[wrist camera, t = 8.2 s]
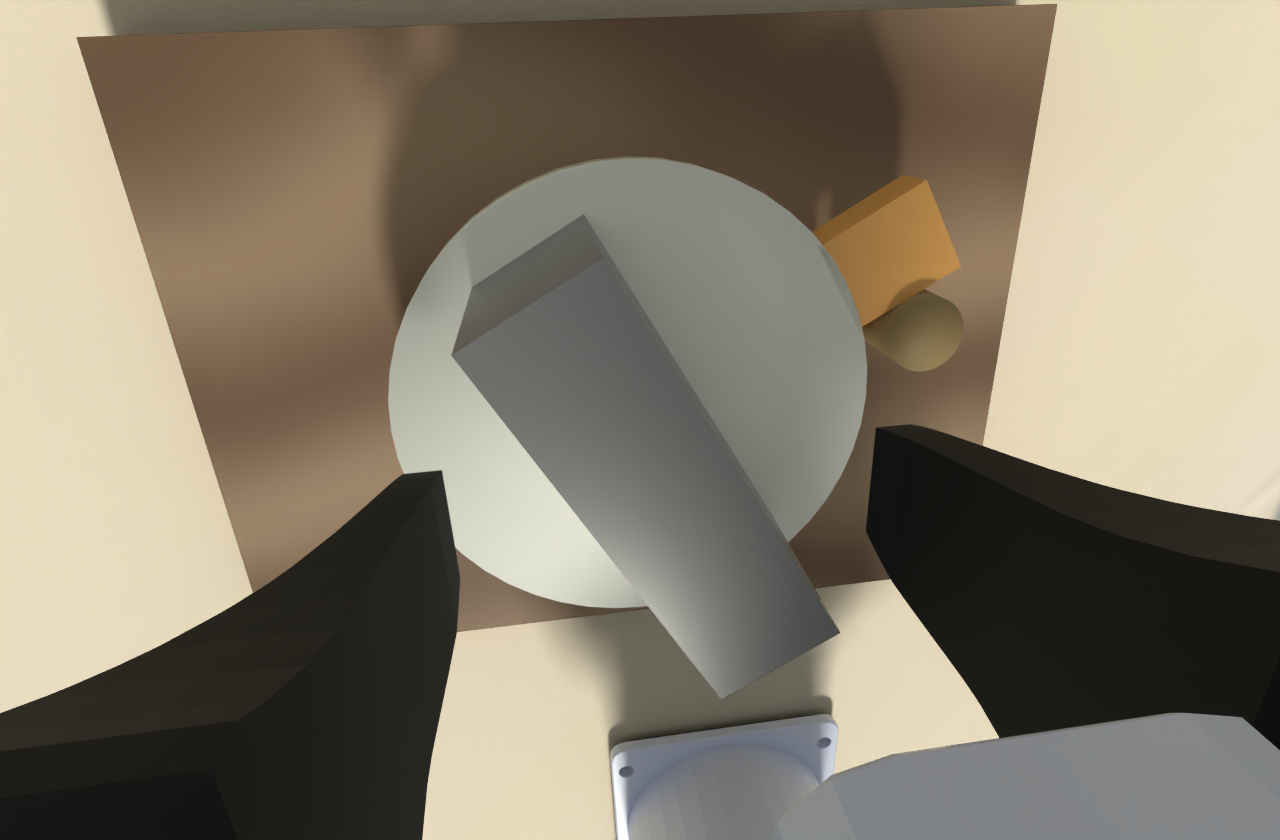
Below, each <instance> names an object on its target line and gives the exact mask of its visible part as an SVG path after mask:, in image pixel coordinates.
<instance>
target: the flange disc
mask: <svg viewBox="0 0 1280 840" xmlns="http://www.w3.org/2000/svg"><path fill="white" fill-rule="evenodd" d="M960 267H961V265H960V263H959V260H958V258H957V255H956V252H955V250H954V247H953V245H952V242H951V240H950V237H949V235H948V232H947V230H946V227H945V225H944V222H943V220H942V217H941V214H940V212H939V209H938V207H937V204H936V202H935V199H934V197H933V194H932V192H931V189H930V187H929V184H928V182H927V180H925V179H921V178H916V177H911V176H906V175H902V176H900V177H898V178H897V179H895V180H894V181H892V182H891V183H889V184H887V185H886V186H884V187H883V188H881V189H879V190H878V191H876V192H875V193H873V194H871V195H870V196H868V197H867V198H865V199H863V200H862V201H860V202H859V203H857V204H855V205H854V206H852V207H851V208H849V209H847V210H846V211H844V212H843V213H841V214H840V215H838V216H836V217H835V218H833V219H832V220H830V221H828V222H827V223H825V224H824V225H822V226H820V227H819V228H817V229H816V230H814V231H812V232H811V231H810V230H809V229H808V228H807V227H806V226H805V225H804V224H803V223H801V222H800V221H799V220H798V219H797V218H796V217H795V216H794V215H793V214H792V213H791V212H790V211H788V210H787V209H785V208H784V207H782V206H781V205H780V204H778V203H777V202H775V201H774V200H772V199H771V198H770V197H768V196H767V195H765V194H764V193H762V192H760V191H758V190H756V189H754V188H752V187H750V186H748V185H746V184H744V183H742V182H740V181H738V180H736V179H734V178H731V177H729V176H726V175H724V174H722V173H719V172H716V171H713V170H710V169H707V168H703V167H700V166H697V165H694V164H691V163H686V162H681V161H675V160H670V159H664V158H659V157H633V156H622V157H612V158H603V159H593V160H588V161H584V162H580V163H576V164H572V165H568V166H564V167H560V168H557V169H554V170H552V171H549V172H547V173H544V174H542V175H539V176H537V177H534V178H532V179H529V180H527V181H525V182H523V183H521V184H520V185H518V186H516V187H514V188H513V189H511V190H509V191H507V192H506V193H504V194H502V195H500V196H499V197H497V198H496V199H495V200H493V201H492V202H491V203H489V204H488V205H487V206H486V207H484V208H483V209H482V210H480V211H479V212H478V213H476V214H475V215H474V216H473V217H471V218H470V219H469V220H468V221H467V222H466V223H465V224H464V225H463V226H462V228H461V229H460V230H459V231H458V232H457V233H456V234H455V235H454V236H453V237H452V238H451V239H450V240H449V241H448V242H447V244H446V245H445V246H444V248H443V249H442V250H441V252H440V253H439V254H438V256H437V257H436V259H435V260H434V261H433V263H432V264H431V265H430V267H429V268H428V270H427V272H426V273H425V275H424V277H423V279H422V280H421V282H420V284H419V286H418V288H417V290H416V292H415V294H414V296H413V297H412V299H411V301H410V303H409V305H408V307H407V309H406V312H405V315H404V317H403V320H402V323H401V326H400V329H399V331H398V334H397V337H396V340H395V346H394V351H393V356H392V361H391V366H390V373H389V394H388V405H389V415H390V425H391V433H392V437H393V441H394V445H395V449H396V453H397V457H398V460H399V463H400V465H401V468H402V470H403V473H404V474H408V473H418V472H428V471H438V470H442V474H443V479H444V485H445V491H446V497H447V503H448V509H449V514H450V520H451V526H452V532H453V538H454V543H455V548H457V549H458V550H459V551H460V552H461V553H462V554H463V555H464V556H466V557H467V558H468V559H470V560H471V561H472V562H474V563H475V564H476V565H478V566H479V567H480V568H482V569H483V570H485V571H486V572H488V573H490V574H492V575H493V576H495V577H497V578H499V579H501V580H502V581H504V582H506V583H508V584H510V585H512V586H515V587H517V588H519V589H522V590H524V591H527V592H529V593H531V594H534V595H537V596H541V597H544V598H548V599H551V600H555V601H558V602H563V603H569V604H575V605H581V606H587V607H603V608H628V607H644V606H648V607H649V608H650V610H651V611H652V612H653V613H654V615H655V616H656V617H657V618H658V620H659V621H660V622H661V624H662V625H663V626H664V627H665V629H666V630H667V631H668V632H669V634H670V635H671V636H672V638H673V639H674V640H675V641H676V643H677V644H678V645H679V646H680V648H681V649H682V650H683V652H684V653H685V654H686V655H687V657H688V658H689V659H690V661H691V662H692V663H693V664H694V666H695V667H696V668H697V669H698V671H699V672H700V673H701V675H702V676H703V677H704V678H705V680H706V681H707V682H708V683H709V685H710V686H711V687H712V689H713V690H714V691H715V692H716V694H717V695H718V696H719V697H720V699H723V698H725V697H726V696H728V695H730V694H732V693H734V692H735V691H737V690H739V689H741V688H743V687H744V686H746V685H748V684H750V683H751V682H753V681H755V680H757V679H759V678H760V677H762V676H764V675H766V674H768V673H769V672H771V671H773V670H775V669H776V668H778V667H780V666H782V665H784V664H785V663H787V662H789V661H791V660H793V659H794V658H796V657H798V656H800V655H801V654H803V653H805V652H807V651H809V650H810V649H812V648H814V647H816V646H818V645H819V644H821V643H823V642H825V641H826V640H828V639H830V638H832V637H834V636H835V635H837V634H839V633H840V631H839V630H838V628H837V626H836V624H835V623H834V621H833V619H832V618H831V616H830V614H829V612H828V611H827V609H826V607H825V605H824V604H823V602H822V600H821V598H820V597H819V595H818V593H817V592H816V590H815V588H814V586H813V585H812V583H811V581H810V579H809V578H808V576H807V574H806V573H805V571H804V569H803V567H802V566H801V564H800V562H799V560H798V559H797V557H796V555H795V554H794V552H793V550H792V548H791V547H790V545H789V543H788V542H789V541H790V540H791V539H792V538H793V537H794V536H795V535H796V534H797V533H798V532H799V531H800V530H801V529H802V528H803V527H804V526H805V525H806V524H807V523H808V522H809V521H810V520H811V519H812V517H813V516H814V515H815V513H816V512H817V511H818V510H819V508H820V507H821V506H822V505H823V503H824V502H825V501H826V499H827V498H828V496H829V495H830V493H831V491H832V490H833V488H834V486H835V485H836V483H837V482H838V480H839V478H840V477H841V475H842V473H843V470H844V468H845V466H846V464H847V462H848V459H849V457H850V455H851V453H852V451H853V448H854V445H855V441H856V438H857V435H858V432H859V429H860V426H861V421H862V416H863V410H864V405H865V399H866V385H867V359H866V348H865V339H864V335H863V330H862V327H863V326H864V325H866V324H868V323H869V322H871V321H873V320H874V319H876V318H878V317H879V316H881V315H883V314H884V313H886V312H887V311H889V310H891V309H892V308H894V307H896V306H897V305H899V304H901V303H902V302H904V301H905V300H907V299H908V298H910V297H912V296H914V295H915V294H917V293H919V292H920V291H922V290H924V289H925V288H927V287H929V286H930V285H932V284H934V283H935V282H937V281H939V280H940V279H942V278H943V277H945V276H947V275H948V274H950V273H952V272H953V271H955V270H957V269H958V268H960Z"/></svg>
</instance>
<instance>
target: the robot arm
mask: <svg viewBox="0 0 1280 840" xmlns="http://www.w3.org/2000/svg"><path fill="white" fill-rule="evenodd" d="M866 533H867V535H868V537H869V539H870V541H871V543H872V545H873V547H874V549H875V551H876V553H877V555H878V557H879V559H880V561H881V563H882V565H883V567H884V568H885V570H886V572H887V574H888V576H889V578H890V579H891V580H892V582H893V583H894V585H895V586H896V588H897V589H898V591H899V592H900V593H901V595H902V596H903V598H904V599H905V600H906V602H907V603H908V604H909V606H910V607H911V609H912V610H913V611H914V613H915V614H916V616H917V617H918V618H919V620H920V621H921V622H922V624H923V625H924V626H925V628H926V629H927V631H928V632H929V633H930V635H931V636H932V637H933V639H934V640H935V641H936V643H937V644H938V645H939V647H940V648H941V650H942V651H943V652H944V654H945V655H946V656H947V658H948V659H949V660H950V662H951V663H952V664H953V666H954V667H955V669H956V670H957V671H958V673H959V674H960V675H961V677H962V678H963V679H964V681H965V682H966V684H967V685H968V687H969V688H970V690H971V691H972V693H973V694H974V696H975V697H976V699H977V700H978V702H979V703H980V705H981V707H982V708H983V710H984V712H985V714H986V715H987V717H988V719H989V720H990V722H991V724H992V726H993V727H994V729H995V731H996V732H997V734H998V736H999V738H998V739H992V740H985V741H978V742H971V743H965V744H958V745H951V746H945V747H938V748H931V749H924V750H918V751H911V752H904V753H898V754H892V755H889V756H886V757H883V758H880V759H877V760H874V761H871V762H868V763H866V764H863V765H860V766H857V767H854V768H851V769H848V770H845V771H842V772H839V773H836V774H834V767H835V756H836V746H837V735H838V726H837V724H836V722H835V720H834V718H833V717H832V716H831V715H828V714H819V715H812V716H805V717H798V718H791V719H784V720H777V721H769V722H762V723H755V724H748V725H741V726H734V727H727V728H720V729H713V730H706V731H699V732H692V733H685V734H678V735H671V736H664V737H657V738H650V739H643V740H636V741H629V742H623V743H619V744H617V745H616V746H614V747H613V749H612V750H611V752H610V761H611V773H612V786H613V798H614V811H615V823H616V836H617V840H1280V521H1278V520H1270V519H1263V518H1256V517H1250V516H1244V515H1239V514H1233V513H1227V512H1221V511H1216V510H1210V509H1204V508H1198V507H1194V506H1189V505H1184V504H1179V503H1174V502H1169V501H1165V500H1161V499H1156V498H1152V497H1148V496H1144V495H1140V494H1136V493H1131V492H1127V491H1123V490H1119V489H1115V488H1111V487H1108V486H1104V485H1100V484H1097V483H1093V482H1090V481H1087V480H1084V479H1080V478H1077V477H1074V476H1070V475H1067V474H1064V473H1061V472H1057V471H1054V470H1051V469H1048V468H1045V467H1042V466H1039V465H1036V464H1033V463H1030V462H1027V461H1024V460H1021V459H1018V458H1015V457H1013V456H1010V455H1007V454H1004V453H1001V452H998V451H996V450H993V449H990V448H987V447H984V446H981V445H979V444H976V443H973V442H970V441H967V440H964V439H962V438H959V437H956V436H953V435H950V434H947V433H943V432H940V431H937V430H934V429H930V428H926V427H922V426H918V425H913V424H906V425H896V426H886V427H876V431H875V441H874V451H873V461H872V471H871V481H870V491H869V501H868V512H867V522H866ZM459 592H460V573H459V567H458V561H457V555H456V549H455V543H454V538H453V532H452V526H451V520H450V514H449V509H448V503H447V497H446V491H445V485H444V479H443V474H442V470H438V471H428V472H418V473H408V474H402V475H401V476H399V477H398V478H397V479H395V480H394V481H393V482H392V483H391V484H389V485H388V486H387V487H386V488H385V489H384V490H383V491H382V492H380V493H379V494H378V495H377V496H376V497H375V498H374V499H373V500H372V501H370V502H369V503H368V504H367V505H366V506H365V507H364V508H363V509H361V510H360V511H359V512H358V513H357V514H356V515H355V516H353V517H352V518H351V519H350V520H349V521H348V522H347V523H345V524H344V525H343V526H342V527H341V528H340V529H339V530H337V531H336V532H335V533H334V534H333V535H331V536H330V537H329V538H327V539H326V540H325V541H324V542H322V543H321V544H320V545H319V546H317V547H316V548H315V549H314V550H312V551H311V552H310V553H308V554H307V555H306V556H305V557H303V558H302V559H301V560H300V561H298V562H297V563H296V564H294V565H293V566H292V567H291V568H289V569H288V570H286V571H285V572H284V573H282V574H281V575H279V576H278V577H276V578H275V579H274V580H272V581H271V582H269V583H268V584H266V585H265V586H263V587H262V588H260V589H259V590H257V591H255V592H254V593H252V594H251V595H249V596H248V597H246V598H244V599H243V600H241V601H240V602H238V603H237V604H235V605H233V606H232V607H230V608H228V609H227V610H225V611H223V612H222V613H220V614H218V615H216V616H214V617H212V618H210V619H209V620H207V621H205V622H203V623H201V624H199V625H198V626H196V627H194V628H192V629H190V630H188V631H186V632H185V633H183V634H181V635H179V636H177V637H175V638H174V639H172V640H170V641H168V642H166V643H164V644H162V645H160V646H158V647H156V648H154V649H152V650H150V651H148V652H146V653H144V654H142V655H140V656H138V657H136V658H133V659H131V660H129V661H127V662H125V663H123V664H121V665H119V666H116V667H114V668H112V669H110V670H107V671H105V672H103V673H100V674H98V675H96V676H93V677H91V678H89V679H87V680H84V681H82V682H80V683H77V684H75V685H73V686H70V687H68V688H65V689H63V690H60V691H58V692H56V693H53V694H51V695H48V696H46V697H43V698H40V699H38V700H35V701H32V702H29V703H27V704H24V705H21V706H19V707H16V708H13V709H11V710H8V711H5V712H3V713H0V840H422V835H423V824H424V814H425V803H426V793H427V783H428V776H429V770H430V764H431V757H432V752H433V747H434V742H435V737H436V732H437V727H438V722H439V718H440V713H441V708H442V703H443V698H444V693H445V688H446V684H447V679H448V674H449V669H450V664H451V659H452V654H453V649H454V644H455V639H456V633H457V624H458V610H459ZM821 738H822V739H821ZM625 766H629V767H626V768H622V767H625Z"/></svg>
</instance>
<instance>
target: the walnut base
mask: <svg viewBox="0 0 1280 840" xmlns="http://www.w3.org/2000/svg"><path fill="white" fill-rule="evenodd" d="M1056 9H1057V4H1039V5H1009V6H980V7H951V8H921V9H892V10H862V11H833V12H803V13H774V14H744V15H715V16H686V17H656V18H627V19H597V20H568V21H538V22H509V23H480V24H450V25H421V26H391V27H362V28H332V29H303V30H273V31H244V32H215V33H185V34H156V35H126V36H97V37H77V40H78V44H79V47H80V50H81V53H82V56H83V59H84V62H85V66H86V69H87V72H88V75H89V78H90V81H91V84H92V88H93V91H94V94H95V97H96V100H97V103H98V106H99V110H100V113H101V116H102V119H103V122H104V125H105V128H106V132H107V135H108V138H109V141H110V144H111V147H112V150H113V154H114V157H115V160H116V163H117V166H118V169H119V172H120V176H121V179H122V182H123V185H124V188H125V191H126V194H127V198H128V201H129V204H130V207H131V210H132V213H133V216H134V220H135V223H136V226H137V229H138V232H139V235H140V238H141V242H142V245H143V248H144V251H145V254H146V257H147V260H148V264H149V267H150V270H151V273H152V276H153V279H154V282H155V286H156V289H157V292H158V295H159V298H160V301H161V304H162V308H163V311H164V314H165V317H166V320H167V323H168V326H169V330H170V333H171V336H172V339H173V342H174V345H175V349H176V352H177V355H178V358H179V361H180V364H181V367H182V371H183V374H184V377H185V380H186V383H187V386H188V389H189V393H190V396H191V399H192V402H193V405H194V408H195V411H196V415H197V418H198V421H199V424H200V427H201V430H202V433H203V437H204V440H205V443H206V446H207V449H208V452H209V455H210V459H211V462H212V465H213V468H214V471H215V474H216V477H217V481H218V484H219V487H220V490H221V493H222V496H223V499H224V503H225V506H226V509H227V512H228V515H229V518H230V521H231V525H232V528H233V531H234V534H235V537H236V540H237V543H238V547H239V550H240V553H241V556H242V559H243V562H244V565H245V569H246V572H247V575H248V578H249V581H250V584H251V587H252V591H253V593H254V592H255V591H257V590H259V589H260V588H262V587H263V586H265V585H266V584H268V583H269V582H271V581H272V580H274V579H275V578H276V577H278V576H279V575H281V574H282V573H284V572H285V571H286V570H288V569H289V568H291V567H292V566H293V565H294V564H296V563H297V562H298V561H300V560H301V559H302V558H303V557H305V556H306V555H307V554H308V553H310V552H311V551H312V550H314V549H315V548H316V547H317V546H319V545H320V544H321V543H322V542H324V541H325V540H326V539H327V538H329V537H330V536H331V535H333V534H334V533H335V532H336V531H337V530H339V529H340V528H341V527H342V526H343V525H344V524H345V523H347V522H348V521H349V520H350V519H351V518H352V517H353V516H355V515H356V514H357V513H358V512H359V511H360V510H361V509H363V508H364V507H365V506H366V505H367V504H368V503H369V502H370V501H372V500H373V499H374V498H375V497H376V496H377V495H378V494H379V493H380V492H382V491H383V490H384V489H385V488H386V487H387V486H388V485H389V484H391V483H392V482H393V481H394V480H395V479H397V478H398V477H399V476H401V475H402V474H404V473H403V470H402V468H401V465H400V463H399V460H398V457H397V453H396V449H395V445H394V441H393V437H392V433H391V425H390V415H389V405H388V394H389V373H390V366H391V361H392V356H393V351H394V346H395V340H396V337H397V334H398V331H399V329H400V326H401V323H402V320H403V317H404V315H405V312H406V309H407V307H408V305H409V303H410V301H411V299H412V297H413V296H414V294H415V292H416V290H417V288H418V286H419V284H420V282H421V280H422V279H423V277H424V275H425V273H426V272H427V270H428V268H429V267H430V265H431V264H432V263H433V261H434V260H435V259H436V257H437V256H438V254H439V253H440V252H441V250H442V249H443V248H444V246H445V245H446V244H447V242H448V241H449V240H450V239H451V238H452V237H453V236H454V235H455V234H456V233H457V232H458V231H459V230H460V229H461V228H462V226H463V225H464V224H465V223H466V222H467V221H468V220H469V219H470V218H471V217H473V216H474V215H475V214H476V213H478V212H479V211H480V210H482V209H483V208H484V207H486V206H487V205H488V204H489V203H491V202H492V201H493V200H495V199H496V198H497V197H499V196H500V195H502V194H504V193H506V192H507V191H509V190H511V189H513V188H514V187H516V186H518V185H520V184H521V183H523V182H525V181H527V180H529V179H532V178H534V177H537V176H539V175H542V174H544V173H547V172H549V171H552V170H554V169H557V168H560V167H564V166H568V165H572V164H576V163H580V162H584V161H588V160H593V159H603V158H612V157H622V156H633V157H659V158H664V159H670V160H675V161H681V162H686V163H691V164H694V165H697V166H700V167H703V168H707V169H710V170H713V171H716V172H719V173H722V174H724V175H726V176H729V177H731V178H734V179H736V180H738V181H740V182H742V183H744V184H746V185H748V186H750V187H752V188H754V189H756V190H758V191H760V192H762V193H764V194H765V195H767V196H768V197H770V198H771V199H772V200H774V201H775V202H777V203H778V204H780V205H781V206H782V207H784V208H785V209H787V210H788V211H790V212H791V213H792V214H793V215H794V216H795V217H796V218H797V219H798V220H799V221H800V222H801V223H803V224H804V225H805V226H806V227H807V228H808V229H809V230H810V231H811V232H812V231H814V230H816V229H817V228H819V227H820V226H822V225H824V224H825V223H827V222H828V221H830V220H832V219H833V218H835V217H836V216H838V215H840V214H841V213H843V212H844V211H846V210H847V209H849V208H851V207H852V206H854V205H855V204H857V203H859V202H860V201H862V200H863V199H865V198H867V197H868V196H870V195H871V194H873V193H875V192H876V191H878V190H879V189H881V188H883V187H884V186H886V185H887V184H889V183H891V182H892V181H894V180H895V179H897V178H898V177H900V176H902V175H906V176H911V177H916V178H921V179H925V180H927V182H928V184H929V187H930V189H931V192H932V194H933V197H934V199H935V202H936V204H937V207H938V209H939V212H940V214H941V217H942V220H943V222H944V225H945V227H946V230H947V232H948V235H949V237H950V240H951V242H952V245H953V247H954V250H955V252H956V255H957V258H958V260H959V263H960V265H961V267H960V268H958V269H957V270H955V271H953V272H952V273H950V274H948V275H947V276H945V277H943V278H942V279H940V280H939V281H937V282H935V283H934V284H932V285H930V286H929V287H927V288H925V289H924V290H922V291H920V292H919V293H917V294H915V295H914V296H912V297H910V298H908V299H907V300H905V301H904V302H902V303H901V304H899V305H897V306H896V307H894V308H892V309H891V310H889V311H887V312H886V313H884V314H883V315H881V316H879V317H878V318H876V319H874V320H873V321H871V322H869V323H868V324H866V325H864V326H863V327H862V330H863V335H864V339H865V348H866V359H867V385H866V399H865V405H864V410H863V416H862V421H861V426H860V429H859V432H858V435H857V438H856V441H855V445H854V448H853V451H852V453H851V455H850V457H849V459H848V462H847V464H846V466H845V468H844V470H843V473H842V475H841V477H840V478H839V480H838V482H837V483H836V485H835V486H834V488H833V490H832V491H831V493H830V495H829V496H828V498H827V499H826V501H825V502H824V503H823V505H822V506H821V507H820V508H819V510H818V511H817V512H816V513H815V515H814V516H813V517H812V519H811V520H810V521H809V522H808V523H807V524H806V525H805V526H804V527H803V528H802V529H801V530H800V531H799V532H798V533H797V534H796V535H795V536H794V537H793V538H792V539H791V540H790V541H789V542H788V543H789V545H790V547H791V548H792V550H793V552H794V554H795V555H796V557H797V559H798V560H799V562H800V564H801V566H802V567H803V569H804V571H805V573H806V574H807V576H808V578H809V579H810V581H811V583H812V585H813V586H814V588H821V587H829V586H837V585H845V584H853V583H862V582H870V581H878V580H886V579H890V578H889V576H888V574H887V572H886V570H885V568H884V567H883V565H882V563H881V561H880V559H879V557H878V555H877V553H876V551H875V549H874V547H873V545H872V543H871V541H870V539H869V537H868V535H867V533H866V522H867V512H868V501H869V491H870V481H871V471H872V461H873V451H874V441H875V431H876V427H886V426H896V425H906V424H913V425H918V426H922V427H926V428H930V429H934V430H937V431H940V432H943V433H947V434H950V435H953V436H956V437H959V438H962V439H964V440H967V441H970V442H973V443H976V444H979V445H981V446H982V445H983V440H984V434H985V428H986V422H987V416H988V410H989V404H990V398H991V392H992V386H993V380H994V375H995V369H996V363H997V357H998V351H999V345H1000V339H1001V333H1002V327H1003V321H1004V316H1005V310H1006V304H1007V298H1008V292H1009V286H1010V280H1011V274H1012V268H1013V262H1014V257H1015V251H1016V245H1017V239H1018V233H1019V227H1020V221H1021V215H1022V209H1023V203H1024V198H1025V192H1026V186H1027V180H1028V174H1029V168H1030V162H1031V156H1032V150H1033V144H1034V138H1035V133H1036V127H1037V121H1038V115H1039V109H1040V103H1041V97H1042V91H1043V85H1044V79H1045V74H1046V68H1047V62H1048V56H1049V50H1050V44H1051V38H1052V32H1053V26H1054V20H1055V15H1056ZM455 549H456V555H457V561H458V567H459V573H460V592H459V610H458V624H457V632H461V631H469V630H478V629H486V628H494V627H502V626H510V625H518V624H527V623H535V622H543V621H551V620H559V619H567V618H576V617H584V616H592V615H600V614H608V613H616V612H625V611H633V610H641V609H649V607H648V606H644V607H628V608H603V607H587V606H581V605H575V604H569V603H563V602H558V601H555V600H551V599H548V598H544V597H541V596H537V595H534V594H531V593H529V592H527V591H524V590H522V589H519V588H517V587H515V586H512V585H510V584H508V583H506V582H504V581H502V580H501V579H499V578H497V577H495V576H493V575H492V574H490V573H488V572H486V571H485V570H483V569H482V568H480V567H479V566H478V565H476V564H475V563H474V562H472V561H471V560H470V559H468V558H467V557H466V556H464V555H463V554H462V553H461V552H460V551H459V550H458V549H457V548H455Z"/></svg>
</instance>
